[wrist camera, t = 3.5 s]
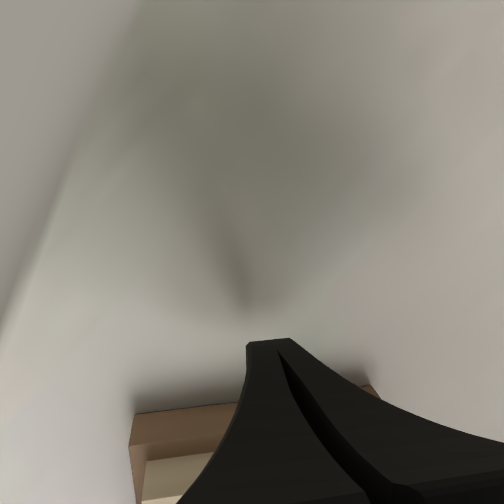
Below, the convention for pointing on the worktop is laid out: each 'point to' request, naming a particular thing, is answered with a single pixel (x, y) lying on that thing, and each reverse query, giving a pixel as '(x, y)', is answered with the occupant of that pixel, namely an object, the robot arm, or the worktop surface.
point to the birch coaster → (171, 477)
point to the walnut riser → (179, 435)
